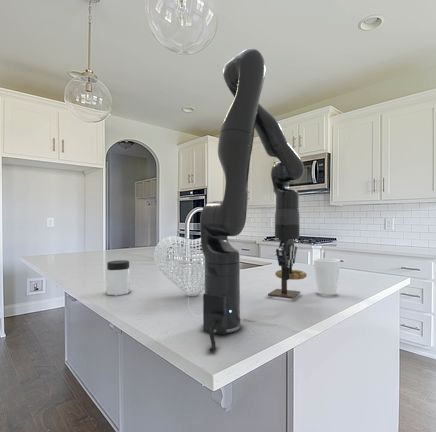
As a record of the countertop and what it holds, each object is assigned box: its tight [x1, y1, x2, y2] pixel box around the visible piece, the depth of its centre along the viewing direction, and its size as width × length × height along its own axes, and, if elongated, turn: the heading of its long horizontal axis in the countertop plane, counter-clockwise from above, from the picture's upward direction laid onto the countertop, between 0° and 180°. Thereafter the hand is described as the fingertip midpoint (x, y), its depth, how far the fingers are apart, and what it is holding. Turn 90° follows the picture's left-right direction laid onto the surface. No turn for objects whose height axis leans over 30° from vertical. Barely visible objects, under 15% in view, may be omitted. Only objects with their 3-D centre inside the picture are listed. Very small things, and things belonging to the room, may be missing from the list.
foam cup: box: [313, 257, 341, 296], centre depth 113 cm, size 10×9×13 cm
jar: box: [105, 259, 131, 297], centre depth 118 cm, size 9×8×12 cm
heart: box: [153, 235, 205, 297], centre depth 113 cm, size 28×16×22 cm, turn 94°
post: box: [267, 266, 301, 300], centre depth 111 cm, size 9×9×14 cm
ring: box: [274, 269, 308, 281], centre depth 98 cm, size 10×10×2 cm
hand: (286, 278), depth 95 cm, fingers closed on ring, 2 cm apart
